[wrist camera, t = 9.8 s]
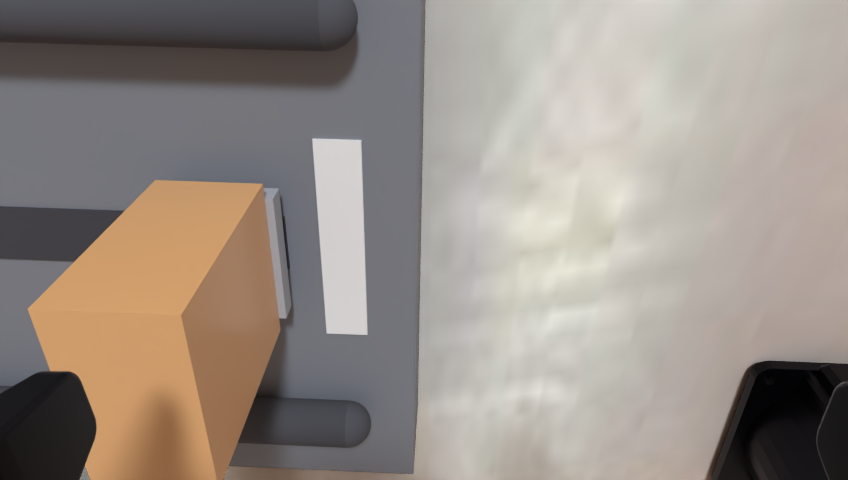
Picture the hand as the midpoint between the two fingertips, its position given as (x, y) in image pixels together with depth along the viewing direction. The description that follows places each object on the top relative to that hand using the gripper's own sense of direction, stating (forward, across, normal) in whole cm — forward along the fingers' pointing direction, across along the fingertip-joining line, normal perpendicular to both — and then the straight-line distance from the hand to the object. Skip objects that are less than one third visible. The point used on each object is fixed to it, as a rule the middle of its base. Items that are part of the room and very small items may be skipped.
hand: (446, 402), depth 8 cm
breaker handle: (+9, +6, +3) cm, 11 cm away
